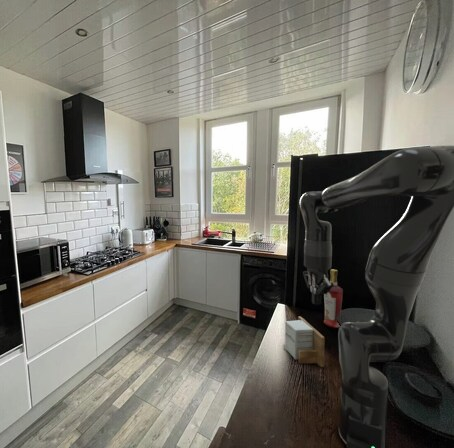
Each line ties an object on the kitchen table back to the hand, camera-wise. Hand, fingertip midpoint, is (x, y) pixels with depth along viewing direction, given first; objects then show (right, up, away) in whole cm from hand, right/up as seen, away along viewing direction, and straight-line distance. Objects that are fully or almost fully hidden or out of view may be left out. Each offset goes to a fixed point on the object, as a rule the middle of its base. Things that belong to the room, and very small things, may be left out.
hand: (316, 303), depth 82 cm
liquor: (+33, -23, +38) cm, 55 cm away
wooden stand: (+6, -27, +19) cm, 33 cm away
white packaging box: (+5, -27, +19) cm, 33 cm away
